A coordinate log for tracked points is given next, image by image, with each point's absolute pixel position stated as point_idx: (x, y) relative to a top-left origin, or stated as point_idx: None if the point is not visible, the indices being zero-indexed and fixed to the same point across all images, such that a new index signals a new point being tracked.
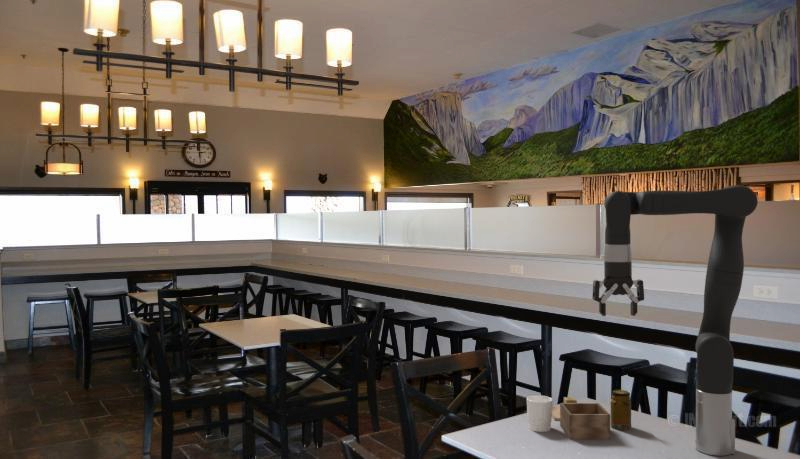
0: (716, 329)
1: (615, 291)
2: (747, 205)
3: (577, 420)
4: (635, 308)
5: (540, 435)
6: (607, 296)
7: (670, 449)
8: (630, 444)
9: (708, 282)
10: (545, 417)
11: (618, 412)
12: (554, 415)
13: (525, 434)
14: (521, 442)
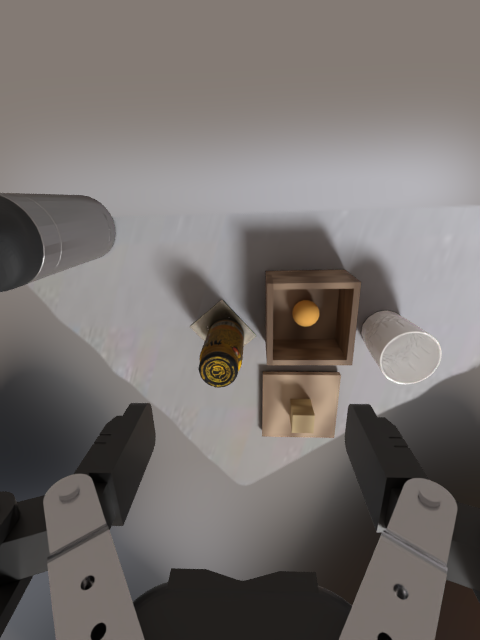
0: None
1: (301, 634)
2: None
3: (338, 279)
4: (108, 444)
5: (389, 303)
6: (409, 542)
7: (163, 232)
8: (231, 257)
9: None
10: (390, 321)
11: (232, 336)
12: (335, 390)
13: (417, 308)
14: (441, 264)
